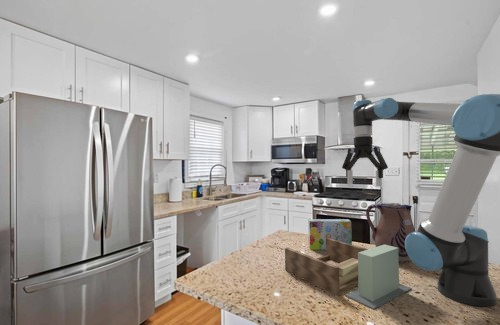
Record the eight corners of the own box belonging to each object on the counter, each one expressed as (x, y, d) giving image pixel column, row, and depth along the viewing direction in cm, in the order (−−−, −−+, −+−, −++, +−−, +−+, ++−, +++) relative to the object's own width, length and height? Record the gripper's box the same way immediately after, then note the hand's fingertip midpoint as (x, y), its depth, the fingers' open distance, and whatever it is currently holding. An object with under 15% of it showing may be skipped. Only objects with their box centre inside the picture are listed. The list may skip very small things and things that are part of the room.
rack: (381, 275, 102) (381, 252, 103) (336, 295, 88) (336, 268, 88) (328, 256, 124) (328, 237, 124) (285, 269, 109) (285, 248, 110)
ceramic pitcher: (426, 266, 111) (425, 207, 112) (373, 264, 115) (372, 207, 115) (408, 253, 129) (407, 202, 129) (362, 251, 132) (362, 201, 132)
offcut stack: (365, 276, 102) (365, 261, 102) (339, 287, 93) (338, 270, 93) (354, 272, 106) (354, 257, 106) (328, 282, 97) (327, 266, 98)
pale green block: (399, 288, 91) (398, 247, 92) (372, 301, 83) (371, 257, 83) (385, 282, 96) (384, 244, 96) (358, 294, 87) (357, 252, 87)
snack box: (349, 247, 138) (348, 219, 139) (352, 251, 133) (351, 221, 133) (308, 246, 140) (308, 218, 141) (309, 250, 135) (309, 220, 135)
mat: (411, 289, 91) (411, 288, 91) (373, 309, 79) (373, 308, 79) (383, 279, 100) (383, 277, 100) (345, 296, 87) (345, 294, 87)
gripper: (396, 134, 106) (397, 186, 105) (344, 139, 127) (344, 183, 126) (386, 132, 102) (387, 187, 101) (333, 138, 122) (334, 184, 122)
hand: (363, 185), depth 114 cm, fingers open, 13 cm apart
